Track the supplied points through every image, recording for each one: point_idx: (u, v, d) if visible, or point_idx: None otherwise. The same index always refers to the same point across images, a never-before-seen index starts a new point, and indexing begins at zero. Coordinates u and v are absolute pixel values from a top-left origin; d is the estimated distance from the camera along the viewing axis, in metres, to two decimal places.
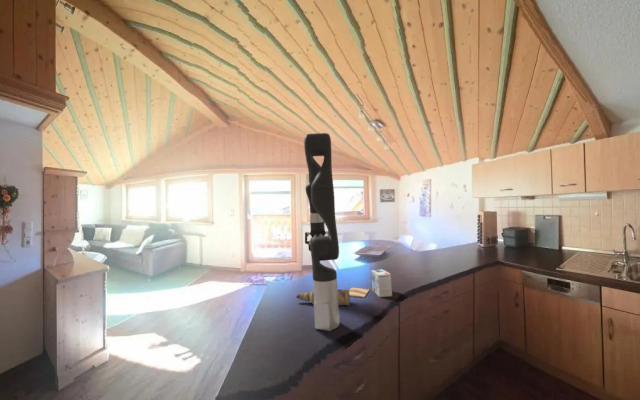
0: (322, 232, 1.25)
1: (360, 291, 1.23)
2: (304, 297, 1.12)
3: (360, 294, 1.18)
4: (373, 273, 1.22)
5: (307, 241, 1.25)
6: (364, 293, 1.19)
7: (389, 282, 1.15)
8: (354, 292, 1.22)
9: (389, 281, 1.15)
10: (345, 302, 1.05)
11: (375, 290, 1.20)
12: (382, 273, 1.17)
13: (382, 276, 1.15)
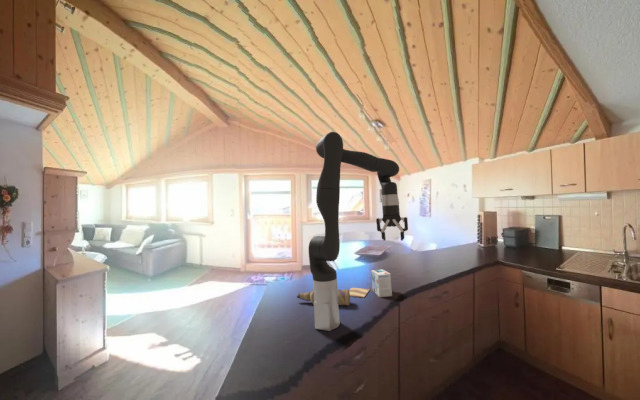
0: (396, 217, 1.07)
1: (360, 291, 1.23)
2: (304, 297, 1.12)
3: (360, 294, 1.18)
4: (373, 273, 1.22)
5: (380, 228, 1.11)
6: (364, 293, 1.19)
7: (389, 282, 1.15)
8: (354, 292, 1.22)
9: (389, 281, 1.15)
10: (345, 302, 1.05)
11: (375, 290, 1.20)
12: (382, 273, 1.17)
13: (382, 276, 1.15)
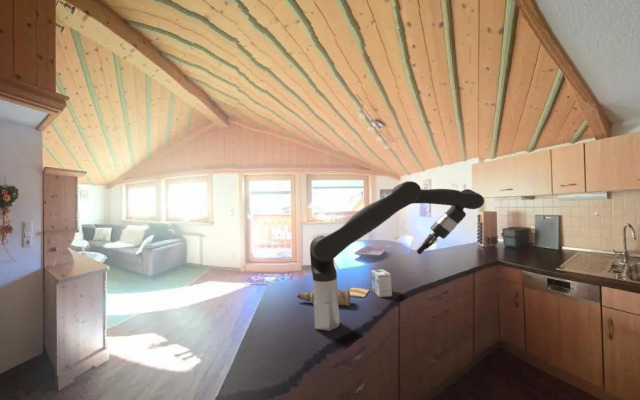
0: (433, 234, 1.08)
1: (360, 291, 1.23)
2: (305, 297, 1.12)
3: (360, 294, 1.18)
4: (373, 273, 1.22)
5: (425, 244, 1.14)
6: (364, 293, 1.19)
7: (389, 282, 1.15)
8: (354, 292, 1.22)
9: (389, 281, 1.15)
10: (345, 303, 1.04)
11: (375, 290, 1.20)
12: (382, 273, 1.17)
13: (382, 276, 1.15)
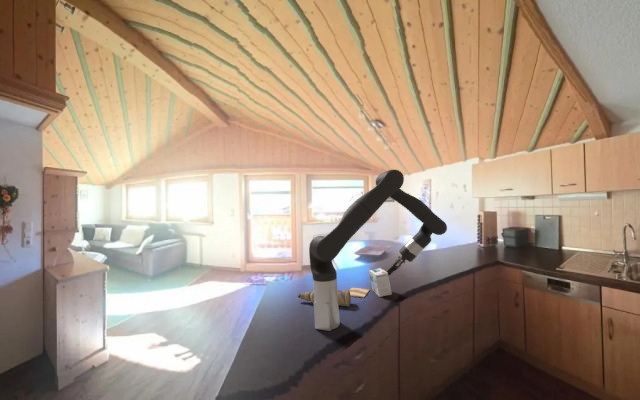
0: (400, 257, 1.14)
1: (360, 291, 1.23)
2: (305, 297, 1.12)
3: (360, 294, 1.18)
4: (371, 273, 1.22)
5: None
6: (364, 293, 1.19)
7: (387, 281, 1.15)
8: (354, 292, 1.22)
9: (387, 280, 1.15)
10: (345, 303, 1.04)
11: (375, 290, 1.20)
12: (379, 272, 1.17)
13: (379, 276, 1.15)
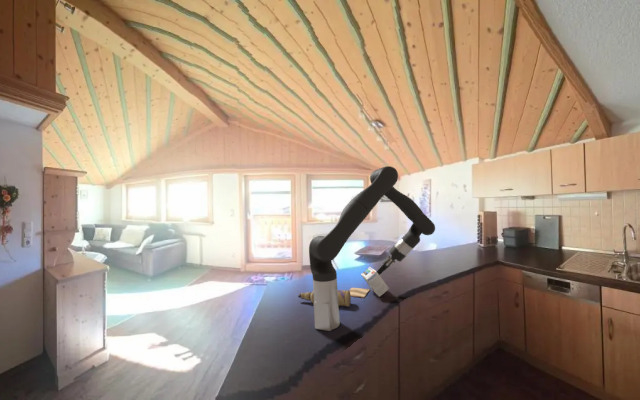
0: (390, 257, 1.16)
1: (360, 291, 1.23)
2: (305, 297, 1.12)
3: (360, 294, 1.18)
4: (363, 277, 1.21)
5: None
6: (364, 293, 1.19)
7: (380, 279, 1.15)
8: (354, 292, 1.22)
9: (379, 278, 1.15)
10: (345, 303, 1.03)
11: None
12: (369, 274, 1.17)
13: (370, 278, 1.14)
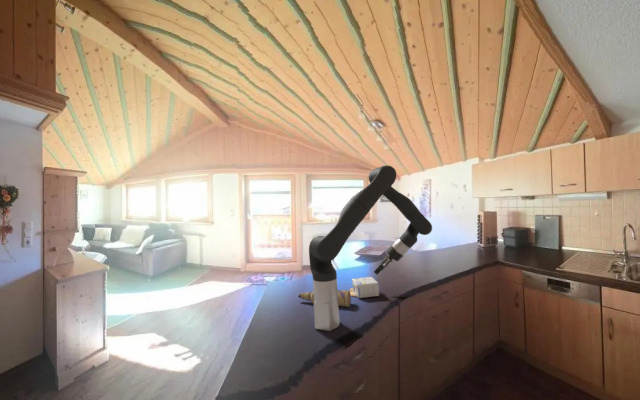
0: (387, 257, 1.16)
1: None
2: (305, 297, 1.12)
3: None
4: None
5: None
6: None
7: (365, 286, 1.14)
8: None
9: (364, 286, 1.14)
10: (345, 303, 1.03)
11: None
12: (356, 290, 1.15)
13: (359, 293, 1.13)
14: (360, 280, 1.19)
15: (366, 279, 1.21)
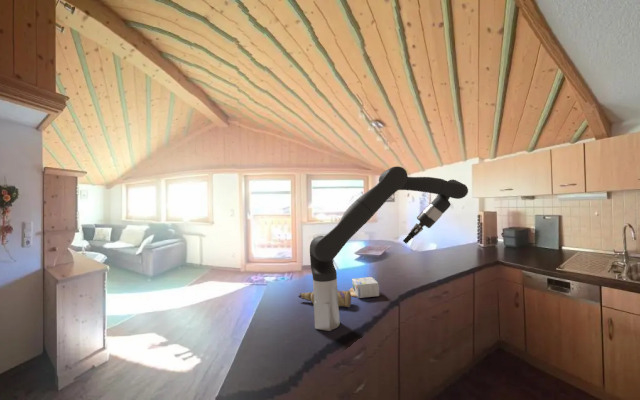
0: None
1: None
2: (305, 297, 1.12)
3: None
4: None
5: (412, 233, 1.16)
6: None
7: (365, 286, 1.14)
8: None
9: (364, 286, 1.14)
10: (345, 304, 1.03)
11: None
12: (356, 290, 1.15)
13: (359, 293, 1.13)
14: (360, 280, 1.19)
15: (366, 279, 1.21)
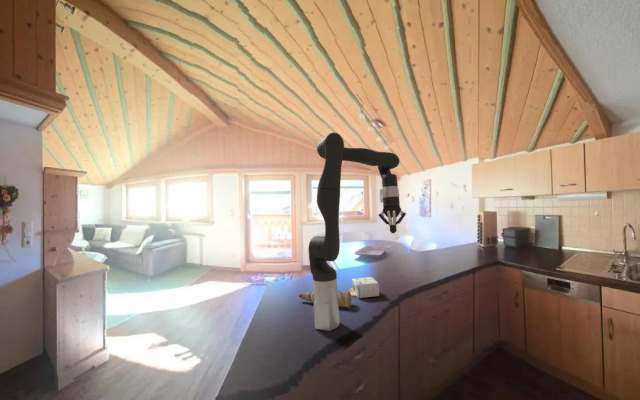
0: (397, 208, 1.09)
1: None
2: (306, 297, 1.12)
3: None
4: None
5: None
6: None
7: (365, 286, 1.14)
8: None
9: (364, 286, 1.14)
10: (344, 304, 1.02)
11: None
12: (356, 290, 1.15)
13: (359, 293, 1.13)
14: (360, 280, 1.19)
15: (366, 279, 1.21)
